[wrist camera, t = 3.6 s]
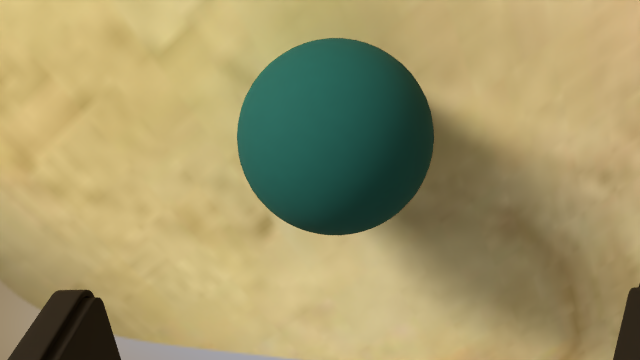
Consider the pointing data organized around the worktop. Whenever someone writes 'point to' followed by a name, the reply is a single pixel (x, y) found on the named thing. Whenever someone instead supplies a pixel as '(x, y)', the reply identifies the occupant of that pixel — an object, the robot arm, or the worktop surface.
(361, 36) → the worktop surface
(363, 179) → the ball
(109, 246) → the worktop surface
